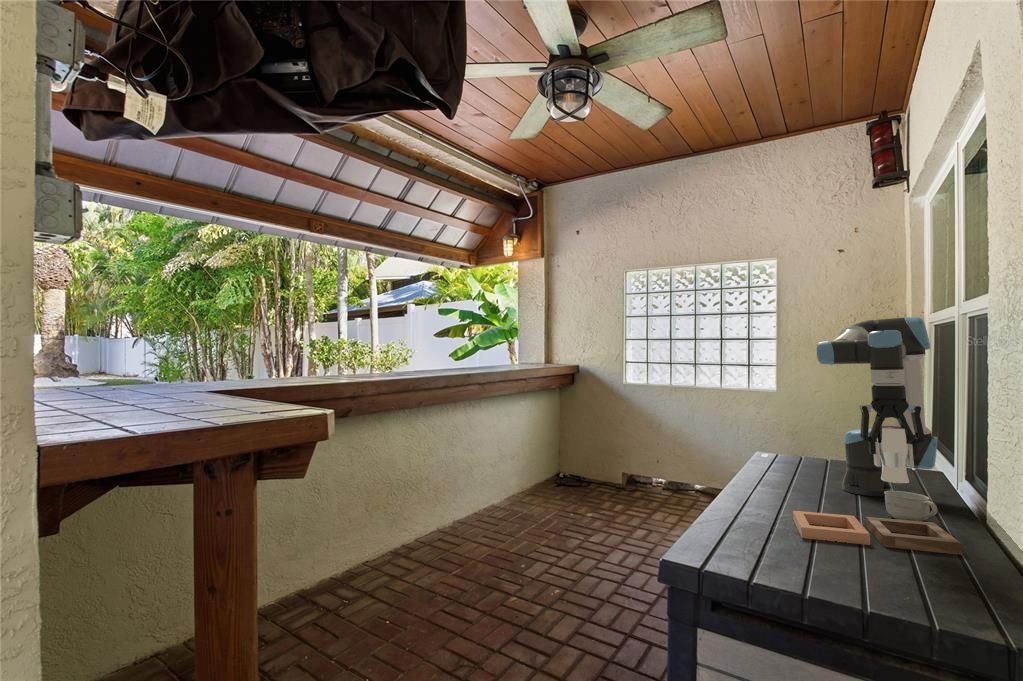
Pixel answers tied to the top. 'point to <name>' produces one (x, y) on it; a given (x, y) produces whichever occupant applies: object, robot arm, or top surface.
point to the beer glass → (893, 453)
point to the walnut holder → (933, 543)
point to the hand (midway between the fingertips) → (893, 466)
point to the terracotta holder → (850, 535)
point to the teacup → (909, 506)
